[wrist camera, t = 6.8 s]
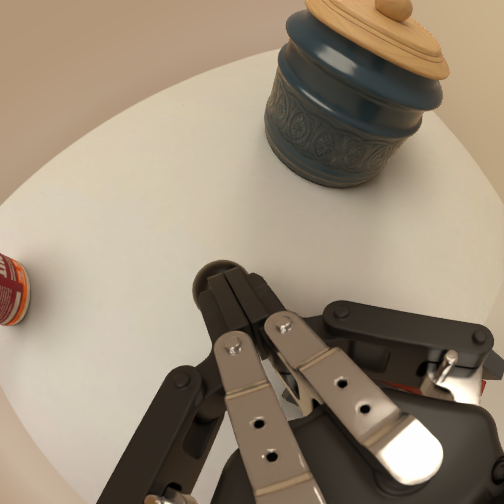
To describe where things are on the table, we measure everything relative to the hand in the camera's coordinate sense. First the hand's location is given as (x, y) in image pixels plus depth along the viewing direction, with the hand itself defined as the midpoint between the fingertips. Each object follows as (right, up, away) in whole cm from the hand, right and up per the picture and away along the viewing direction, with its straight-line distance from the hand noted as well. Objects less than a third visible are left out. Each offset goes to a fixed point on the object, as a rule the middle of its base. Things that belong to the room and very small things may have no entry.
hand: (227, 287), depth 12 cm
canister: (+8, +13, +13) cm, 21 cm away
